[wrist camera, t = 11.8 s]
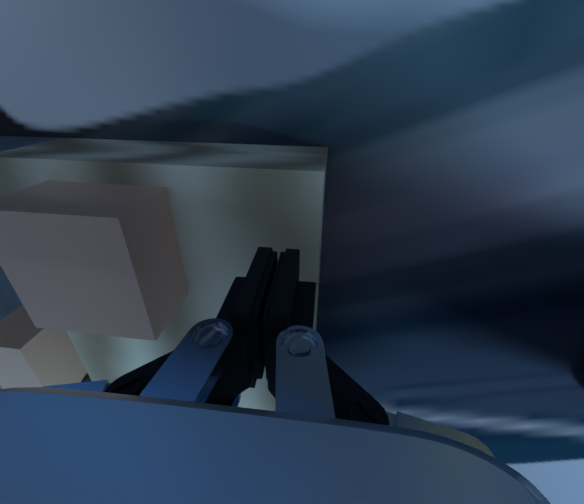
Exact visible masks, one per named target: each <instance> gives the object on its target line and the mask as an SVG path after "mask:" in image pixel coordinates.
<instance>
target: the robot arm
mask: <svg viewBox="0 0 584 504" xmlns="http://www.w3.org/2000/svg"><path fill="white" fill-rule="evenodd" d="M299 270H300V249H288V248H286V251H285V252H280V256H279V259H278V257H277V251H273V249H272V247H258V249H257V251H256V253H255V256H254V258H253V260H252V263H251V265H250V268H249V270H248V272H247V275H246V277H235V279H234V281H233V283H232V285H231V287H230V289H229V292H228V294H227V296H226V298H225V300H224V302H223V304H222V306H221V308H220V311H219V313H218V315H217V317H216V318H211V319H206V320H203V321H200V322H198V323H197V324H195V325H194V326H193V327H192V328H191V329H190V330H189V331H188V332H187V334H186V335H185V336H184V338H183V339H182V340H181V342H180V343H179V344H178V345H177V347H176V348H175V349H174V350H173V351H171V352H169V353H167V354H165V355H163V356H161V357H159V358H157V359H155V360H153V361H151V362H149V363H147V364H145V365H143V366H141V367H138V368H136V369H134V370H132V371H130V372H128V373H126V374H124V375H122V376H121V377H119V378H117V379H116V380H114V381H113V382H112V383H109V381H108V380H100V381H90V382H81V383H71V384H61V385H51V386H44V387H19V388H5V389H0V504H550V502H549V501H548V500H547V499H546V498H545V497H544V496H543V494H542V493H541V492H540V491H539V490H538V489H537V488H536V487H535V486H534V485H533V484H532V483H531V482H529V481H528V480H527V479H526V478H525V477H524V476H522V475H521V474H520V473H518V472H517V471H515V470H514V469H512V468H511V467H509V466H508V465H506V464H504V463H503V462H501V461H499V460H498V459H496V458H495V457H494V456H493V454H492V453H491V452H490V450H489V449H488V448H487V446H485V445H484V444H483V443H482V442H481V441H479V440H478V439H477V438H475V437H473V436H471V435H468V434H466V433H463V432H460V431H457V430H454V429H451V428H448V427H444V426H441V425H438V424H435V423H432V422H429V421H426V420H423V419H420V418H417V417H414V416H411V415H408V414H404V413H401V412H398V411H397V413H396V415H395V414H392V413H389V412H386V411H385V409H384V408H383V407H382V406H381V405H380V404H379V402H377V401H376V400H375V399H374V398H373V397H372V396H371V395H370V394H369V393H367V392H366V391H365V390H364V389H363V388H362V387H361V386H360V385H359V384H357V383H356V382H355V381H354V380H353V379H352V378H351V377H350V376H349V375H347V374H346V373H345V372H344V371H343V370H342V369H341V368H340V367H339V366H337V365H336V364H335V363H334V362H333V361H332V360H331V359H330V358H329V357H327V356H326V355H325V351H324V345H323V341H322V338H321V336H320V335H319V333H318V332H317V331H315V330H314V329H313V323H314V309H315V293H316V282H307V281H299ZM264 369H266V380H267V381H268V390H269V392H270V393H271V394H272V395H273V396H274V398H275V411H270V410H261V409H252V408H243V407H238V404H239V402H240V398H241V393H242V392H243V391H245V390H246V389H248V388H255V385H256V381H257V379H262V378H263V374H264Z"/></svg>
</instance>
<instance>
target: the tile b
mask: <svg viewBox="0 0 584 504" xmlns="http://www.w3.org/2000/svg"><path fill="white" fill-rule="evenodd" d="M0 265H1V267H2V269H3V270H4V272H5V274H6V276H7V278H8V279H9V281H10V283H11V285H12V286H13V288H14V290H15V292H16V293H17V295H18V297H19V299H20V301H21V302H22V304H23V306H24V308H25V309H26V311H27V313H28V315H29V316H30V318H31V320H32V322H33V323H34V325H35V327H36V328H44V329H53V330H62V331H71V332H80V333H89V334H98V335H106V336H115V337H124V338H133V339H142V340H151V341H156V340H157V338H158V337H159V335H160V334H161V333H162V331H163V330H164V328H165V327H166V325H167V324H168V322H169V321H170V320H171V318H172V317H173V315H174V314H175V312H176V311H177V309H178V308H179V306H180V305H181V304H182V302H183V301H184V299H185V298H186V296H187V295H188V293H189V292H188V287H187V283H186V278H185V273H184V268H183V263H182V258H181V253H180V249H179V244H178V239H177V234H176V229H175V224H174V219H173V214H172V210H171V205H170V200H169V195H168V190H167V187H159V186H140V185H121V184H101V183H82V182H63V181H44V182H41V183H38V184H35V185H33V186H30V187H27V188H24V189H21V190H19V191H16V192H13V193H10V194H7V195H5V196H2V197H0Z"/></svg>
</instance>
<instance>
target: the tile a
mask: <svg viewBox="0 0 584 504" xmlns="http://www.w3.org/2000/svg"><path fill="white" fill-rule="evenodd" d="M87 374H88V373H87V371H86V369H85V367H84V365H83V363H82V361H81V359H80V357H79V355H78V353H77V351H76V349H75V347H74V345H73V343H72V341H71V339H70V337H69V335H68V333H67V331H62V330H53V329H44V328H36V327H35V325H34V323H33V322H32V320H31V318H30V316H29V315H28V313H27V311H26V309H25V308H24V306H23V304H22V305H21V306H20V307H18V308H17V309H16V310H14V311H13V312H11V313H10V314H9V315H7V316H6V317H4V318H3V319H2V320H0V386H1V387H2V389H5V388H19V387H44V386H51V385H61V384H71V383H80V382H81V381H82V380H83V378H84V377H85V376H86V375H87Z"/></svg>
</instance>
